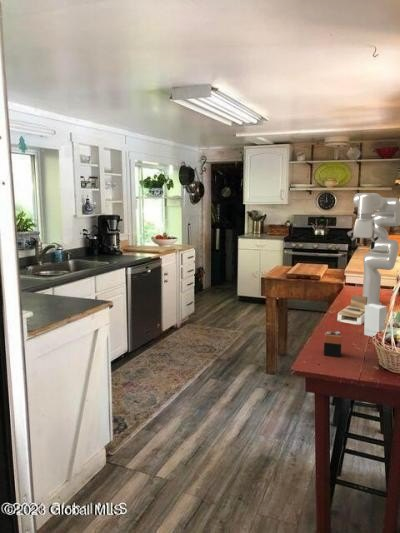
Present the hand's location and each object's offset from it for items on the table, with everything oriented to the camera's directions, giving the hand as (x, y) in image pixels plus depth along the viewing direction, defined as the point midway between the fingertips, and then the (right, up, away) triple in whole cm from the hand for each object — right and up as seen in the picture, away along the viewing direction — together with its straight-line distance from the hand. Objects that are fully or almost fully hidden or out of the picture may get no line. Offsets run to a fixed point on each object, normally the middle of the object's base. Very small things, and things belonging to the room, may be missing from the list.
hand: (362, 248), depth 235 cm
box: (-6, -38, -4) cm, 39 cm away
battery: (-33, -47, -54) cm, 79 cm away
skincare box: (-6, -43, -31) cm, 53 cm away
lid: (-6, -35, -5) cm, 35 cm away
